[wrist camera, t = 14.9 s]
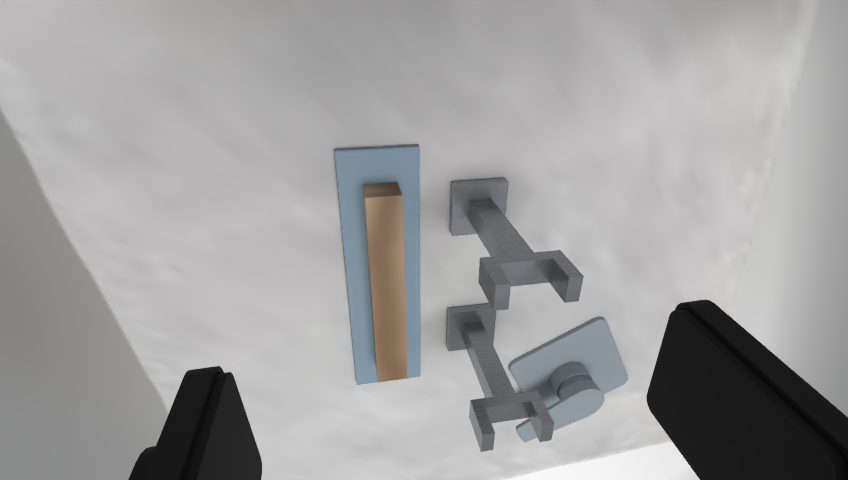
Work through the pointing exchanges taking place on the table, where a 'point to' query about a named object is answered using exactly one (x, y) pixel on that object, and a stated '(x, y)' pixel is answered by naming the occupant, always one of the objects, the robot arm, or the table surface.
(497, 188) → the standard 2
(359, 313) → the mat
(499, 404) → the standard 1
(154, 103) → the table surface
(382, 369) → the rail
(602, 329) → the shower valve
